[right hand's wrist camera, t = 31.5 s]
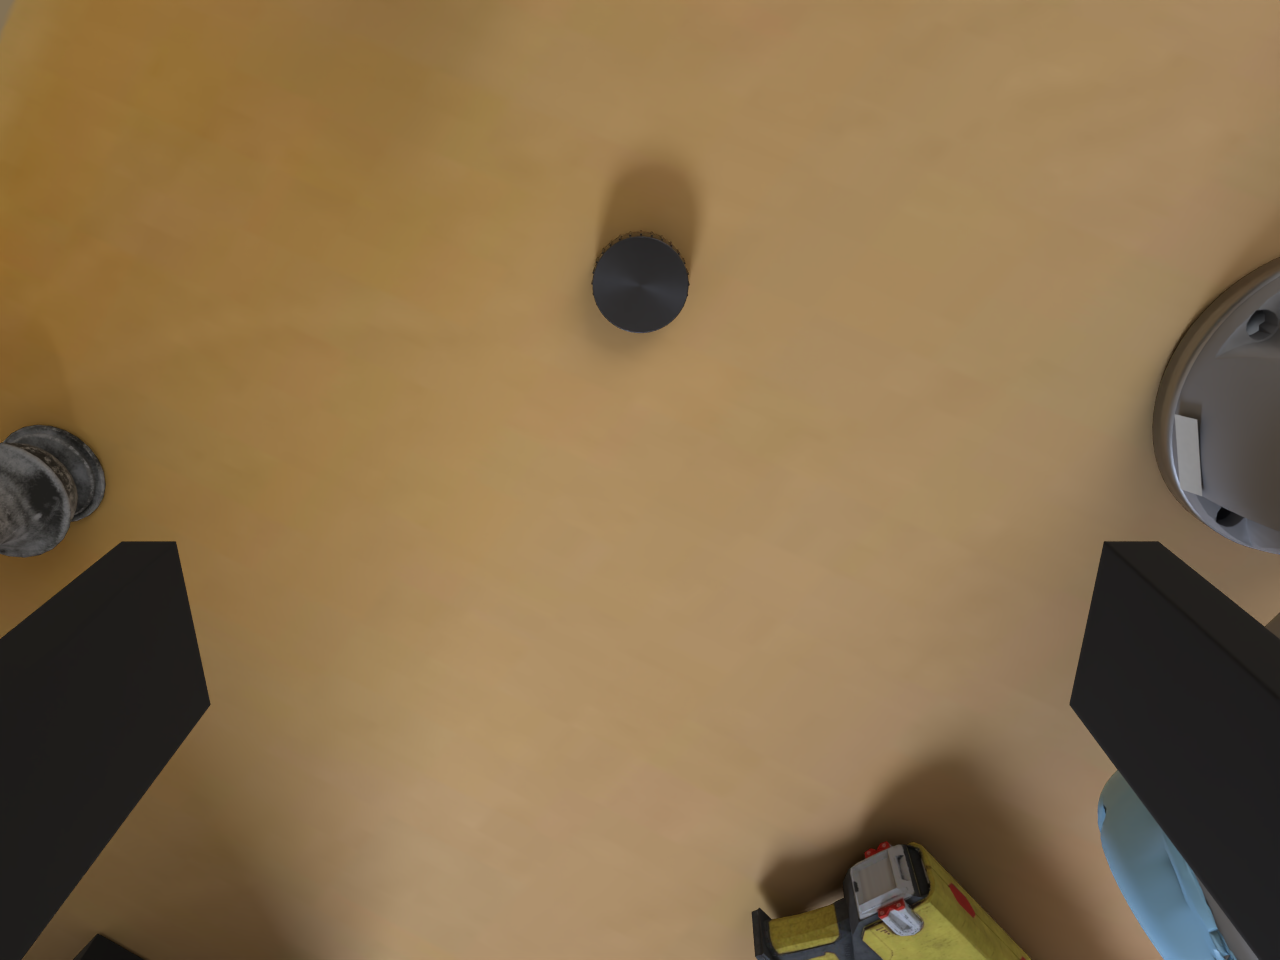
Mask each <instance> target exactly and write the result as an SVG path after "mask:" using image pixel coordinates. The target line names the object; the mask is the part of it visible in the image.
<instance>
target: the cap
mask: <svg viewBox="0 0 1280 960" xmlns="http://www.w3.org/2000/svg"><path fill="white" fill-rule="evenodd" d="M596 263H597V264H596V267H594V270H593V274H594V275H593V280H592V285H593V295H594V298H595V301H596V305H597V306H598V308H599V310H600V311H601V313H602V314H603V315H604V317H605V318H606V319H607V320H608V321H609V322H611V323H612V324H613V325H615V326H617V327H618V328H620V329H623V330H625V331H629V332H634V333H647V332H652V331H656V330H658V329H661V328H663V327H664V326H666V325H668V324H669V323H670V322H672V321H673V320H674V319H675V318H676V317H677V315H678V314H679V313H680V311H681V310H682V308H683V307H684V304H685V301H686V298H687V296H688V286H689V281H688V275H689V274H688V270H687V268H686V267H685V261H684V258H683V259H682V257H681V255H680V252H679V250H678V249H676V248H675V247H674V246H673V245H672V242H671V241H670V242H669V241H667V240H666V239H664V238H663V236H662V235H661V236H658V235H656V234H653V232H651V233H649V232H642V230H640V232H632V233H631V232H629V233H628V234H625V235H623V236H621V235H619V237H618V238H617V239H615V240H614V241H612V240H611V241H610V244H609V245H608V246H607V247H606V248H605V249H604V248H603V250H602V254H601V255H600V257H598V258H597V261H596Z"/></svg>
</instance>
